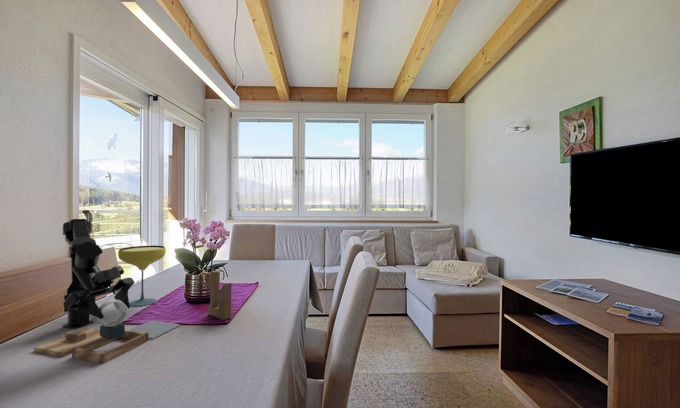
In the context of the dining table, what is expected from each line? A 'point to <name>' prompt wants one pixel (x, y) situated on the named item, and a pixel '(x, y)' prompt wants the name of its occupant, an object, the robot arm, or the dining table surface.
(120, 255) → the cocktail glass
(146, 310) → the dining table surface
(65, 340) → the lid
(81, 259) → the robot arm
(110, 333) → the watch
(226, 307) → the wooden block
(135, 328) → the felt mat
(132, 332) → the wooden rectangular frame
